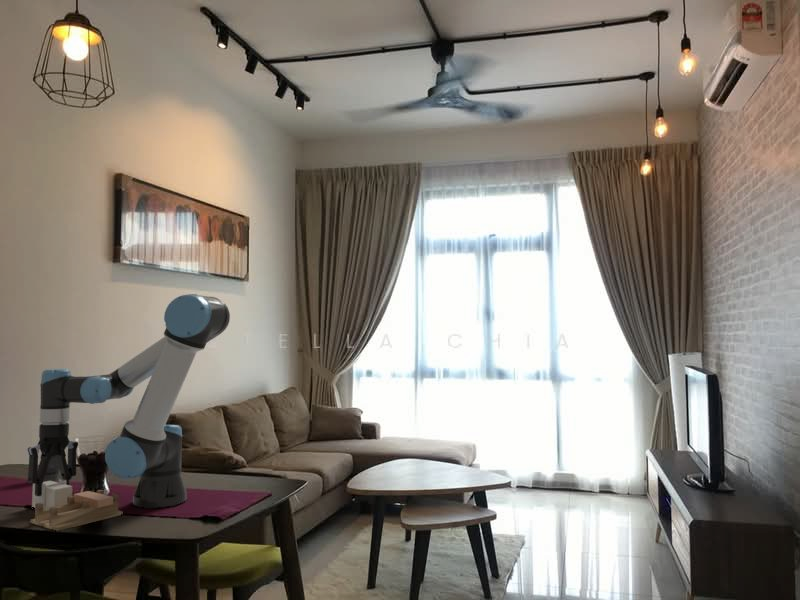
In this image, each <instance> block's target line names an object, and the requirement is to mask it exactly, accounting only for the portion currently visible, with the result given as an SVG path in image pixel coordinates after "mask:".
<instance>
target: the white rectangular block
mask: <svg viewBox="0 0 800 600" xmlns="http://www.w3.org/2000/svg"><path fill="white" fill-rule="evenodd" d="M43 484H46V490H45V508H43V510H44V509H48V508H51V507H57V506H62V505H66V504H67V497H69V496H73V485H70V484H69V485H65V484H61V483H59V482H58V481H43ZM31 496H32V497H31V498H32V499H31V508H32V507H34V508H35V504H36V503H37V496H35V484H33V483H32V495H31Z"/></svg>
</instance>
